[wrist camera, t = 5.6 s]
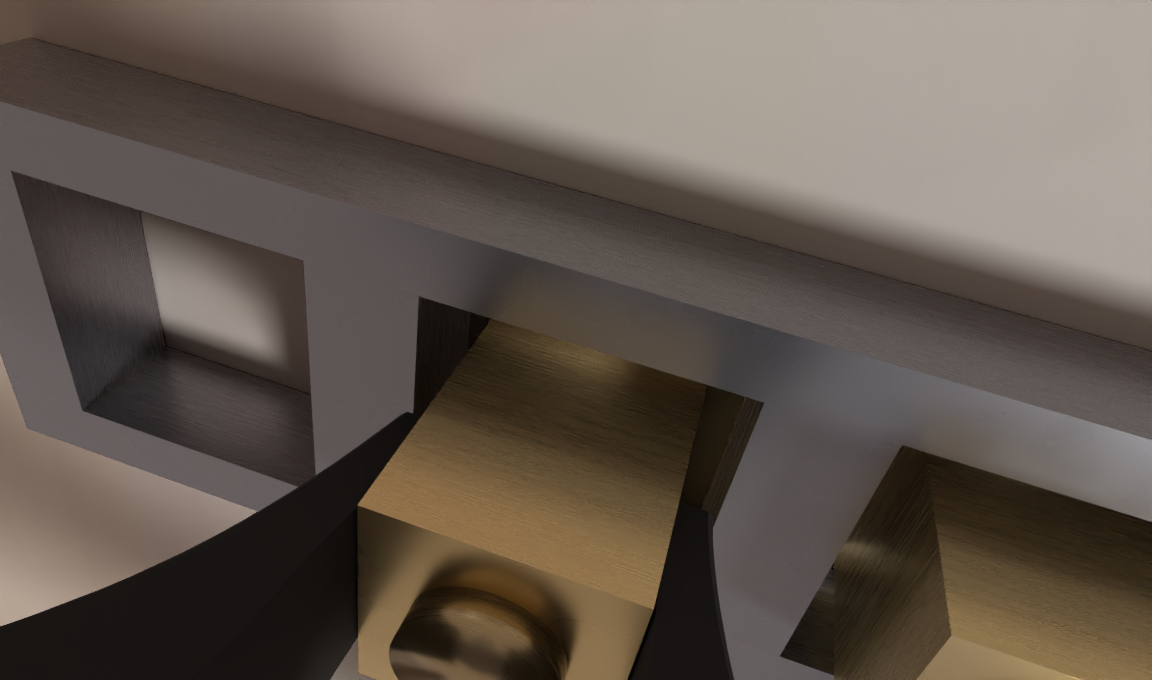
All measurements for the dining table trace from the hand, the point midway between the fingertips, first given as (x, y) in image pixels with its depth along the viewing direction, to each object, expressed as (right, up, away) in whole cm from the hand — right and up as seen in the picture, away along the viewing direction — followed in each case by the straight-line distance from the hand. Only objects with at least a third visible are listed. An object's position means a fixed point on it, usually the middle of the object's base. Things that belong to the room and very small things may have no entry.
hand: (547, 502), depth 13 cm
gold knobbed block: (+8, 0, +2) cm, 8 cm away
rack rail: (+1, +2, +3) cm, 3 cm away
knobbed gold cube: (+1, +1, +2) cm, 3 cm away
